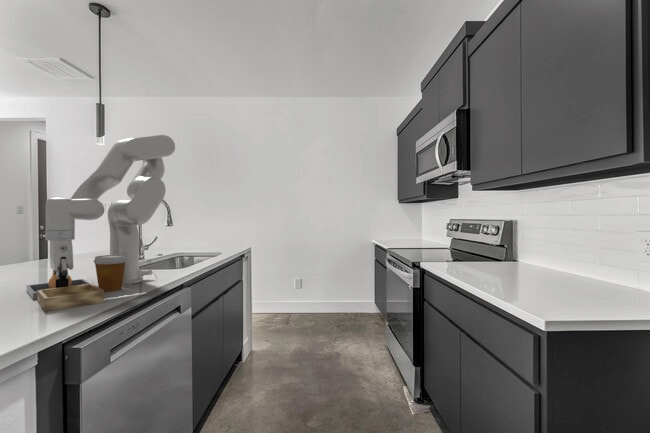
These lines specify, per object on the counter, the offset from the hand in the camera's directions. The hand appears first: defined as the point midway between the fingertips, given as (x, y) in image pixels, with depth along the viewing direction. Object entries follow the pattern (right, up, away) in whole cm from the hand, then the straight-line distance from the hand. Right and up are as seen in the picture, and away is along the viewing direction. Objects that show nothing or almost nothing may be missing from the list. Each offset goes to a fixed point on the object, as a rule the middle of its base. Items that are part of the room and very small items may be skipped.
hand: (60, 289), depth 108 cm
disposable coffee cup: (+15, -2, +3) cm, 15 cm away
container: (0, -1, 0) cm, 1 cm away
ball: (0, -1, 0) cm, 1 cm away
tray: (+12, -1, -11) cm, 16 cm away
